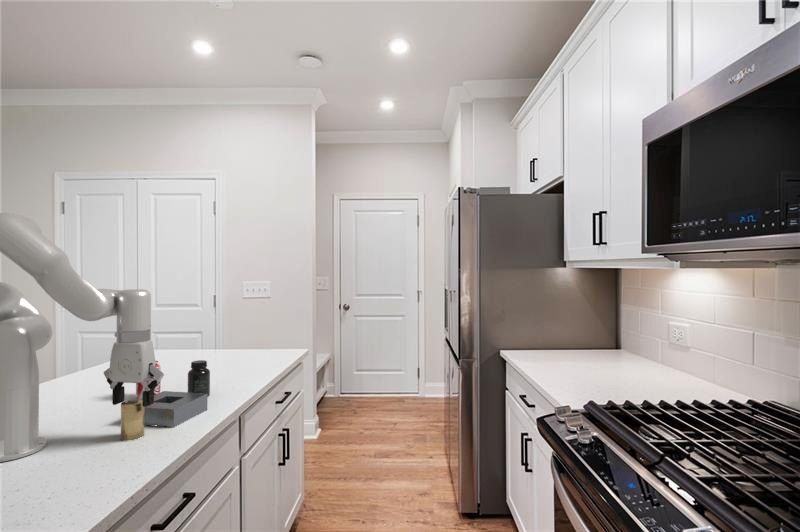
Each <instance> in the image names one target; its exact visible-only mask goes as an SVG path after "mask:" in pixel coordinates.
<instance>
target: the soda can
mask: <svg viewBox="0 0 800 532" xmlns="http://www.w3.org/2000/svg"><path fill="white" fill-rule="evenodd" d="M155 367H156V368H157V369H159V370H160V371H161V365H160V364H159V360H155ZM154 378H155V376H154ZM154 378H153V380H154ZM147 383H148V384H149V382H148V381H147ZM143 391H145V389H144V387H143V386H142V384H141V383H135V393H136V399H143ZM158 393H161V382H160V383H159V384H158V385H157V387H156V388H155V389H154V395H156V394H158Z"/></svg>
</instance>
